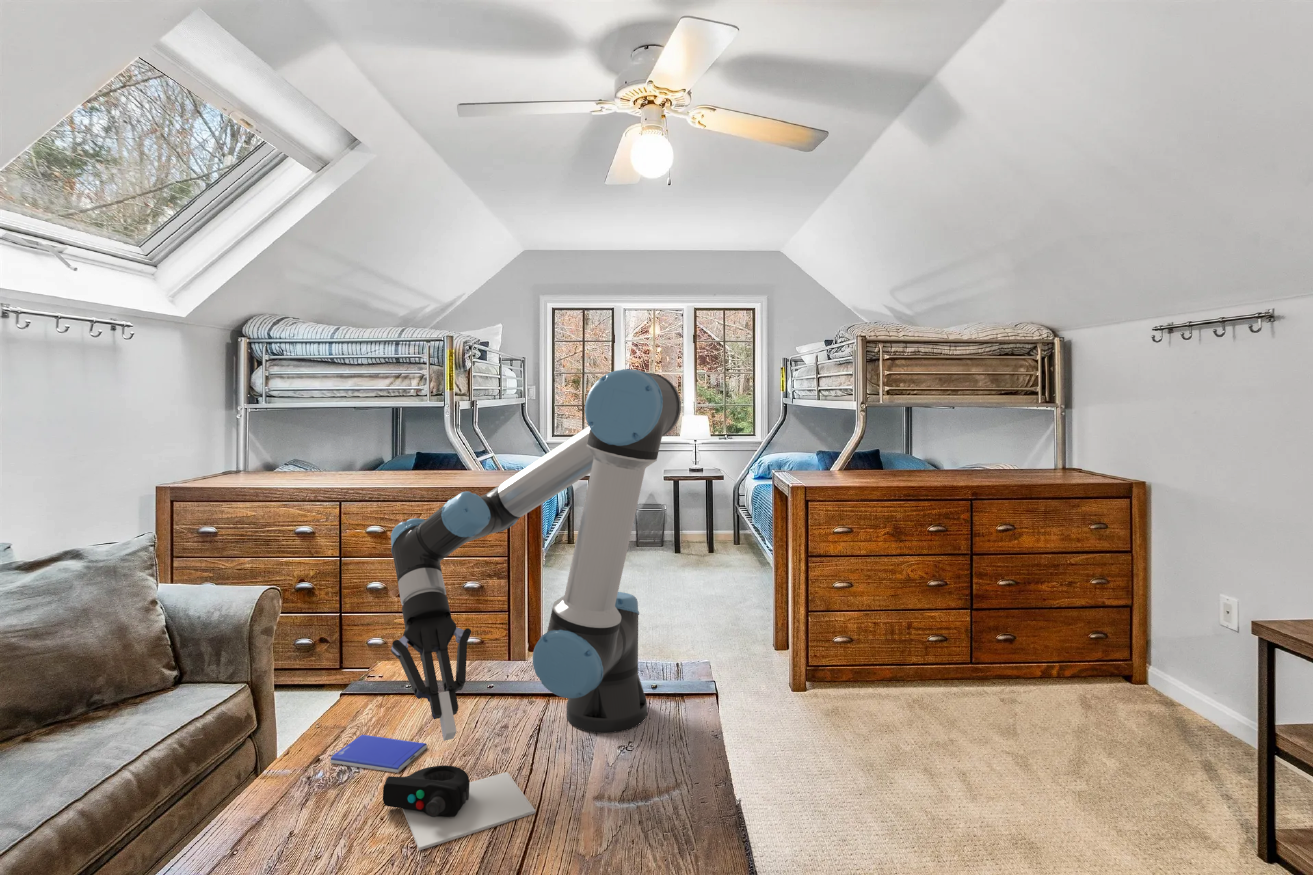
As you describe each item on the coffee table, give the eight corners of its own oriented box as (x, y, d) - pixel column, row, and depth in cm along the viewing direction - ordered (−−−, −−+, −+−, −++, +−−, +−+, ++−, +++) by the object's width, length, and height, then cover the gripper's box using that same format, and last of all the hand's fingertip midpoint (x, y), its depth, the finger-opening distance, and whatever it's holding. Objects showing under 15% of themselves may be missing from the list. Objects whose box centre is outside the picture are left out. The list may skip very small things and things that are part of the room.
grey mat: (507, 774, 107) (507, 771, 107) (535, 812, 97) (535, 810, 97) (400, 804, 99) (400, 801, 99) (418, 850, 88) (418, 847, 88)
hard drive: (330, 756, 110) (397, 766, 107) (363, 733, 118) (426, 741, 115) (330, 766, 110) (398, 776, 107) (363, 742, 118) (427, 750, 115)
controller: (483, 793, 102) (450, 828, 92) (409, 784, 104) (369, 817, 94) (484, 764, 102) (451, 795, 92) (410, 755, 104) (370, 785, 95)
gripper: (458, 606, 123) (487, 735, 109) (381, 618, 116) (402, 756, 103) (466, 584, 118) (497, 716, 105) (386, 594, 111) (408, 736, 98)
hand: (450, 735), depth 104 cm, fingers closed
